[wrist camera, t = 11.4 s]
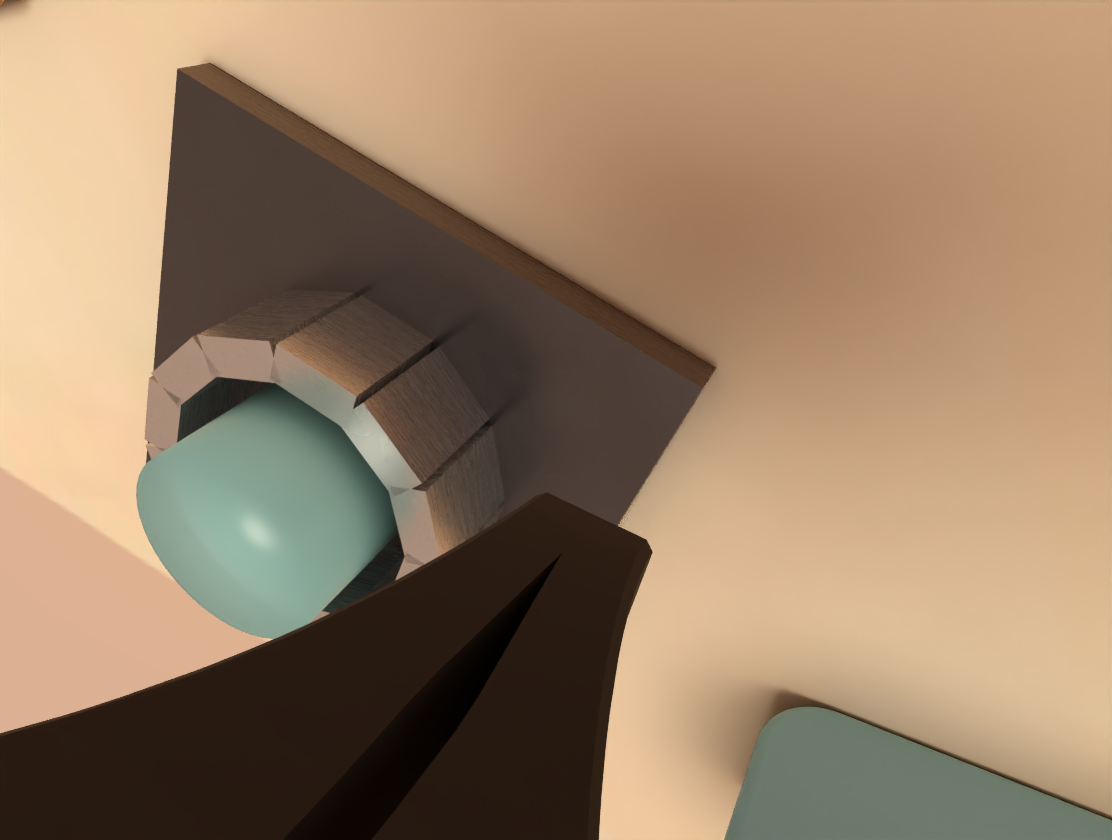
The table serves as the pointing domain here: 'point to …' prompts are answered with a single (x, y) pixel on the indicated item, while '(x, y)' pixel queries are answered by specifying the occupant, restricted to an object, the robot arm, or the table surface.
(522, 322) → the square base ring holder
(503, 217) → the table surface
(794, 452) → the table surface
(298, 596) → the teal rounded cylinder
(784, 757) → the data package
